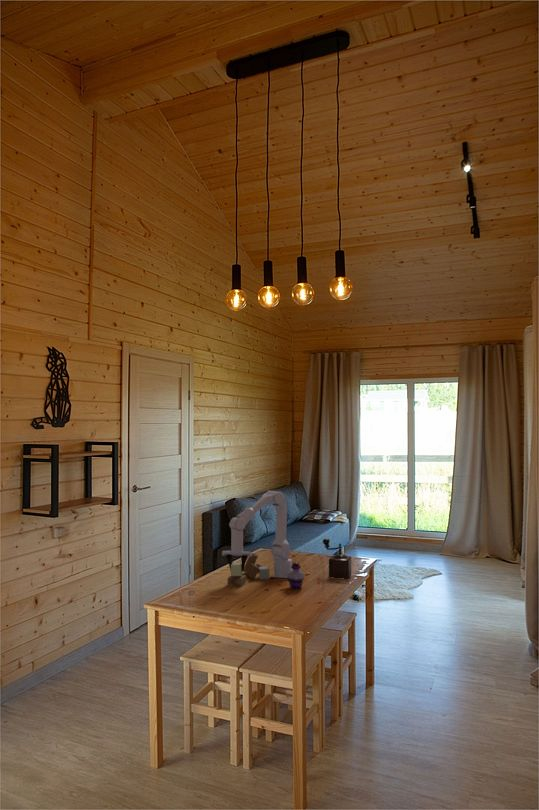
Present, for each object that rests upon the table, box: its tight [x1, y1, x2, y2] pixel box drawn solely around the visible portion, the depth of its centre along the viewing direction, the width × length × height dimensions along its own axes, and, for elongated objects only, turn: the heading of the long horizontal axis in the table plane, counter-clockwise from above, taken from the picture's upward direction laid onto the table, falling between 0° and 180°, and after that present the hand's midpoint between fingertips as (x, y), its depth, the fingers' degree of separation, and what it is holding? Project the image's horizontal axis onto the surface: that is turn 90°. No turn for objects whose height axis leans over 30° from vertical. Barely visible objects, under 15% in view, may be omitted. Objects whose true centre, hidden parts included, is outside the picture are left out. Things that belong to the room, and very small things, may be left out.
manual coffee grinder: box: [322, 538, 352, 580], centre depth 280 cm, size 16×11×18 cm
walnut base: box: [227, 574, 247, 588], centre depth 262 cm, size 7×7×4 cm
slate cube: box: [258, 566, 270, 580], centre depth 274 cm, size 5×5×5 cm
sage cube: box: [230, 562, 244, 576], centre depth 262 cm, size 5×5×5 cm
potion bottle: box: [286, 561, 306, 590], centre depth 257 cm, size 9×9×12 cm
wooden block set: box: [243, 552, 263, 580], centre depth 281 cm, size 18×9×10 cm, turn 177°
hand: (236, 570), depth 263 cm, fingers closed on sage cube, 5 cm apart
